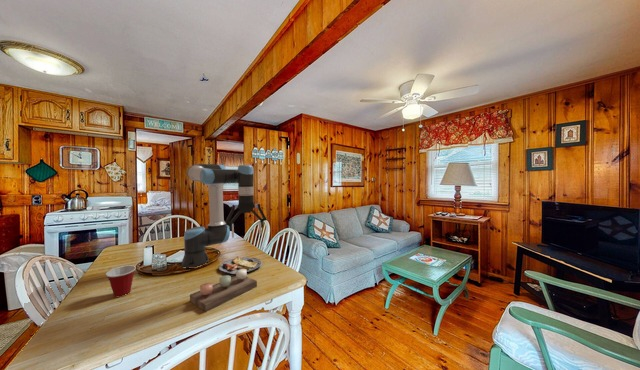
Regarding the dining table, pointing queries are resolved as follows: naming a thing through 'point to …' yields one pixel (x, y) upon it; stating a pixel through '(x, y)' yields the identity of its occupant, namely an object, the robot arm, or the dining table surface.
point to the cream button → (241, 274)
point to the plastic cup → (121, 279)
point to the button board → (222, 293)
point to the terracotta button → (206, 288)
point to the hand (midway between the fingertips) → (246, 235)
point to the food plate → (240, 264)
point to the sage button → (225, 280)
